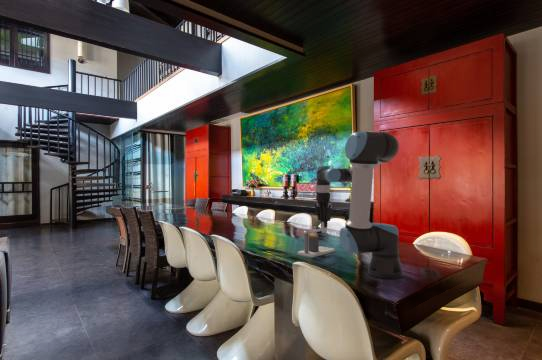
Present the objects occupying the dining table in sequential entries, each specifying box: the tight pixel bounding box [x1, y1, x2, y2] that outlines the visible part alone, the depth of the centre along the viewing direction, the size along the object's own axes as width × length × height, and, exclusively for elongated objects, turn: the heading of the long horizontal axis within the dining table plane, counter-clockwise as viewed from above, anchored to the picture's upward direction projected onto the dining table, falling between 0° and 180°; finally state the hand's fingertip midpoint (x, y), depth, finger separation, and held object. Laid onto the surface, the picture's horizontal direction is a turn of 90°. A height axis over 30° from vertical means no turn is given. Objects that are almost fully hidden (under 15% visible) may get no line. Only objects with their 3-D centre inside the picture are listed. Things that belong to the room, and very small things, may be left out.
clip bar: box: [302, 227, 322, 235], centre depth 174 cm, size 17×3×2 cm, turn 132°
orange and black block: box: [308, 233, 319, 252], centre depth 173 cm, size 4×4×11 cm
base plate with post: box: [297, 234, 336, 259], centre depth 175 cm, size 21×11×13 cm, turn 132°
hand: (324, 232), depth 173 cm, fingers closed
